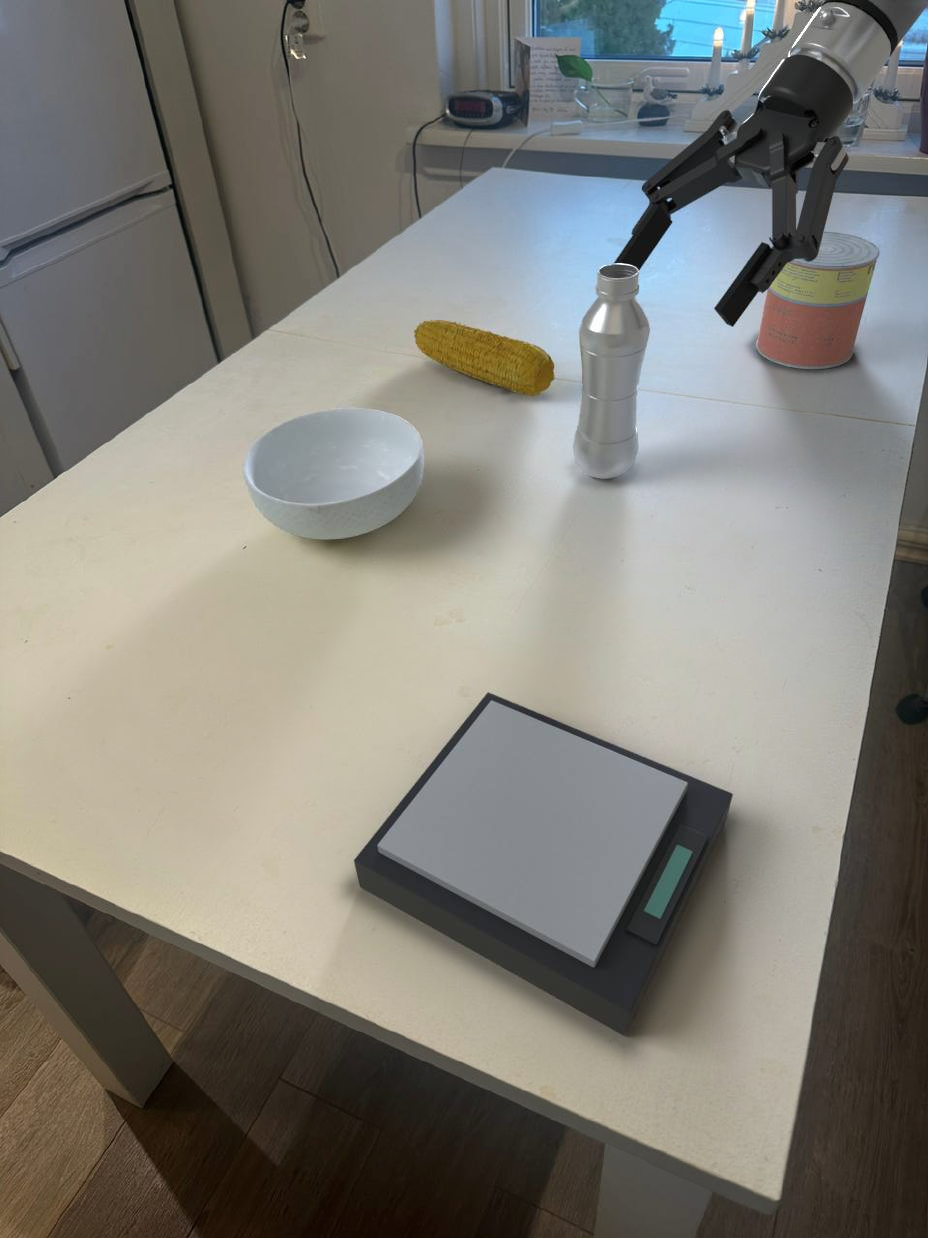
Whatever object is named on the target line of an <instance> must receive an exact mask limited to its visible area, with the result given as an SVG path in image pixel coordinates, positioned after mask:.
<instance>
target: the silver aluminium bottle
mask: <svg viewBox="0 0 928 1238" xmlns="http://www.w3.org/2000/svg"><path fill="white" fill-rule="evenodd" d="M639 280H640V270H638V268H637V267H635V266H632V265H629V264H613V263H610V264H605V265H602V266H600V267H599V268H598V270H597V273H596V284H595V289H594V290H595V291H594V293H595V294H596V295H597V298H596V299H595V300H594V301H593V303H592V304H591V305H590V306H589V307H588V310H587V311H586V312H585V314H584V315H583V317H582V320H581V323H580V325H579V329H578V335H579V336H578V340H579V349H580V350H579V351H580V361H581V384H582V386H581V399H580V406H579V407H580V408H579V414H578V421H577V426H576V428H575V433H574V436H573V437H574V438H573V444H572V452H573V459H574V463H575V464H576V466H577V467H578V469H579V470H580V471H581V472H582V473H583V474H585V475H586V476H588V477H591V478H595V479H605V480H606V479H614V478H618V477H620V476H622V475H624V474H626V473H627V472H628V471H629V470H630V469H631V468H632V466H634V464H635V461H636V458H637V455H638V451H639V432H638V426H637V410H638V409H637V408H638V407H637V406H638V405H637V404H638V401H637V398H638V391H639V384H640V380H641V379H640V378H641V373H642V368H643V362H644V359H645V356H646V351H647V347H648V343H649V339H650V333H651V327H650V322H649V317H648V316H647V314H646V312H645V311H644V307H642V305H641V303H640V302H639V301H638V299H637V298H636V296H637V295H638V294H639V293H640V284H639Z"/></svg>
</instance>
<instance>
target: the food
mask: <svg viewBox="0 0 928 1238" xmlns="http://www.w3.org/2000/svg"><path fill="white" fill-rule="evenodd" d="M413 333H414V335H413V337H414V338H415V340H414V342H415V345H416V346H417V349H419V350H420V351H421V353H422V354H424V355H425V356H427V357H429V358H430V359H432V360H433V361H436V362H437V363H439V364H441V365H443V366H445V367H448V368H451V369H453V370H454V371H456V372H458V373H461V374H464V375H466V376H468V377H472V378H474V379H476V380H479V381H482V382H485V383H486V384H489V385H493V386H497V387H500V388H502V389H503V388H505V390H509V391H511V392H513V393H517V394H522V395H527V396H537V395H540V394H541V393H543V392H544V391H546V390H547V389H549V388H550V387H551V385H552V382H553V381H555V372H554V369H555V362H554V361H553V359H552V357H551V356H550V354H549V353H547V351H546V350H544V349H543V348H541V347H539V346H538V345H535V344H533V343H529V342H527V341H524V340H519V339H515V338H512V337H508V336H506V335H500V334H497V333H493V332H492V331H489V330H484V329H480V328H477V327H473V326H472V327H471V326H468V325H466V324H462V323H460V322H459V323H458V322H456V321H451V320H442V319H434V320H433V319H430V320H423V322H419V324H418V325H417V327H416V329H415V330H413Z"/></svg>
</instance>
